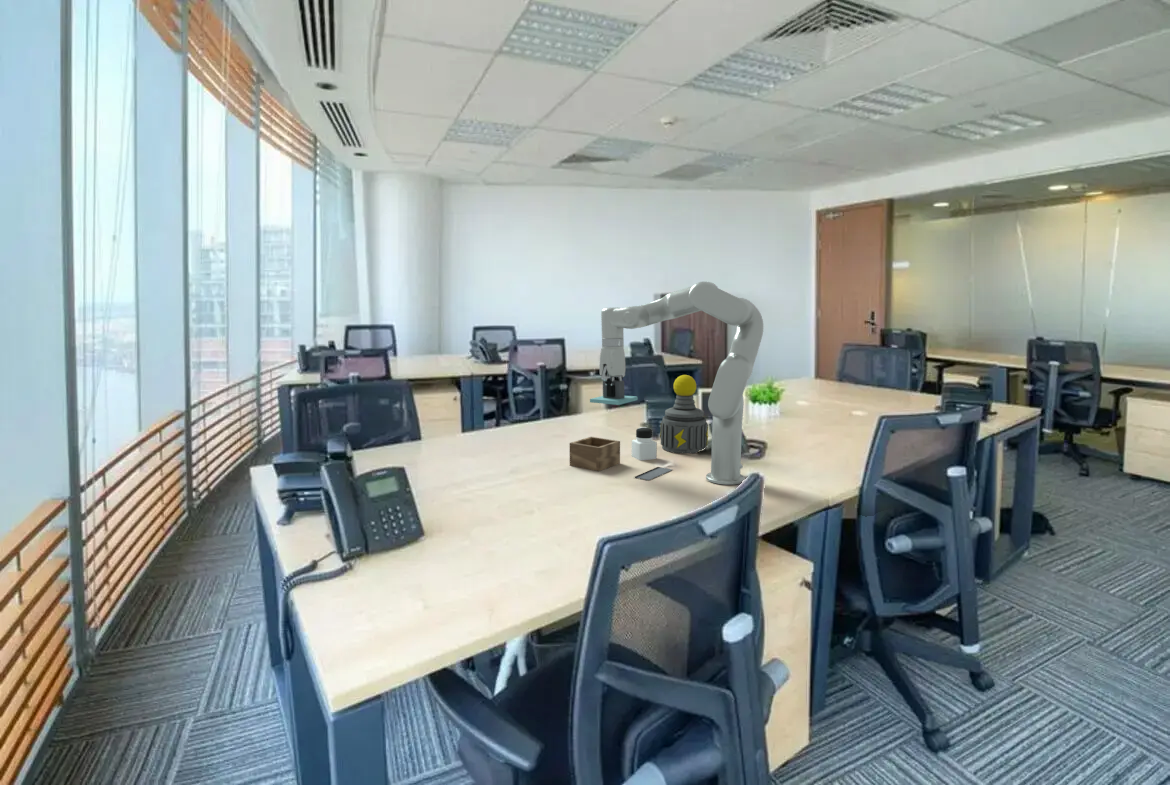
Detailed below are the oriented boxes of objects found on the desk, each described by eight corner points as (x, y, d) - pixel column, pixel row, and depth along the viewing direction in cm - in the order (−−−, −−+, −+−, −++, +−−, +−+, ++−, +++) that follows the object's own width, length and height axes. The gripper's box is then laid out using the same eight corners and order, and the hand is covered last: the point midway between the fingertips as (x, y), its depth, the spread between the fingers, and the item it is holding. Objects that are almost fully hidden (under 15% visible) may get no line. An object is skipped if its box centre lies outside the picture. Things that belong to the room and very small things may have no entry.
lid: (609, 397, 226) (609, 378, 225) (637, 400, 219) (637, 379, 218) (589, 402, 217) (589, 381, 216) (618, 404, 209) (618, 383, 208)
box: (591, 459, 233) (591, 436, 232) (619, 465, 225) (620, 441, 224) (569, 467, 223) (569, 443, 222) (599, 473, 215) (599, 448, 214)
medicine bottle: (656, 460, 232) (657, 429, 230) (639, 462, 229) (639, 430, 228) (648, 456, 238) (648, 425, 237) (631, 458, 236) (631, 427, 234)
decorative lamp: (656, 452, 244) (657, 376, 240) (664, 442, 262) (665, 371, 258) (704, 455, 239) (706, 378, 234) (709, 444, 257) (711, 372, 252)
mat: (633, 463, 228) (633, 462, 228) (672, 470, 219) (672, 469, 219) (609, 472, 216) (609, 472, 216) (648, 480, 206) (648, 479, 206)
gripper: (617, 341, 224) (618, 392, 226) (590, 344, 211) (591, 398, 213) (634, 342, 219) (635, 393, 222) (608, 345, 206) (609, 400, 209)
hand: (613, 395), depth 217 cm, fingers closed on lid, 3 cm apart
